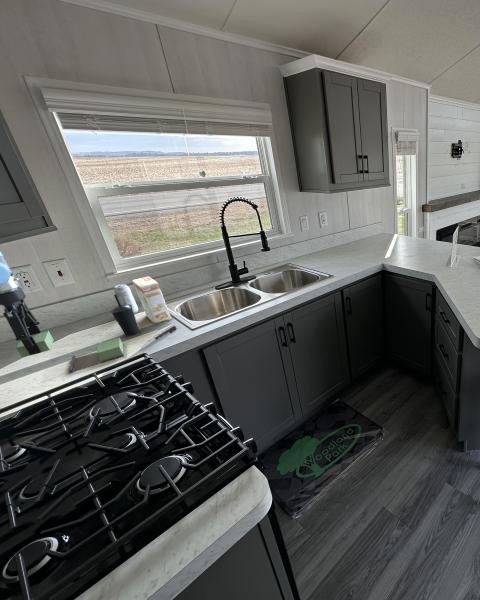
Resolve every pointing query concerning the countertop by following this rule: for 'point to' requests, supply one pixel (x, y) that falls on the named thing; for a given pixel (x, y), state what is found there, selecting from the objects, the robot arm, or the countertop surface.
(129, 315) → the drinking cup
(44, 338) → the pad
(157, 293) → the coffeecake box
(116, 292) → the energy drink can
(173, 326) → the kitchen knife
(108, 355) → the pad
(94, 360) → the backing board
